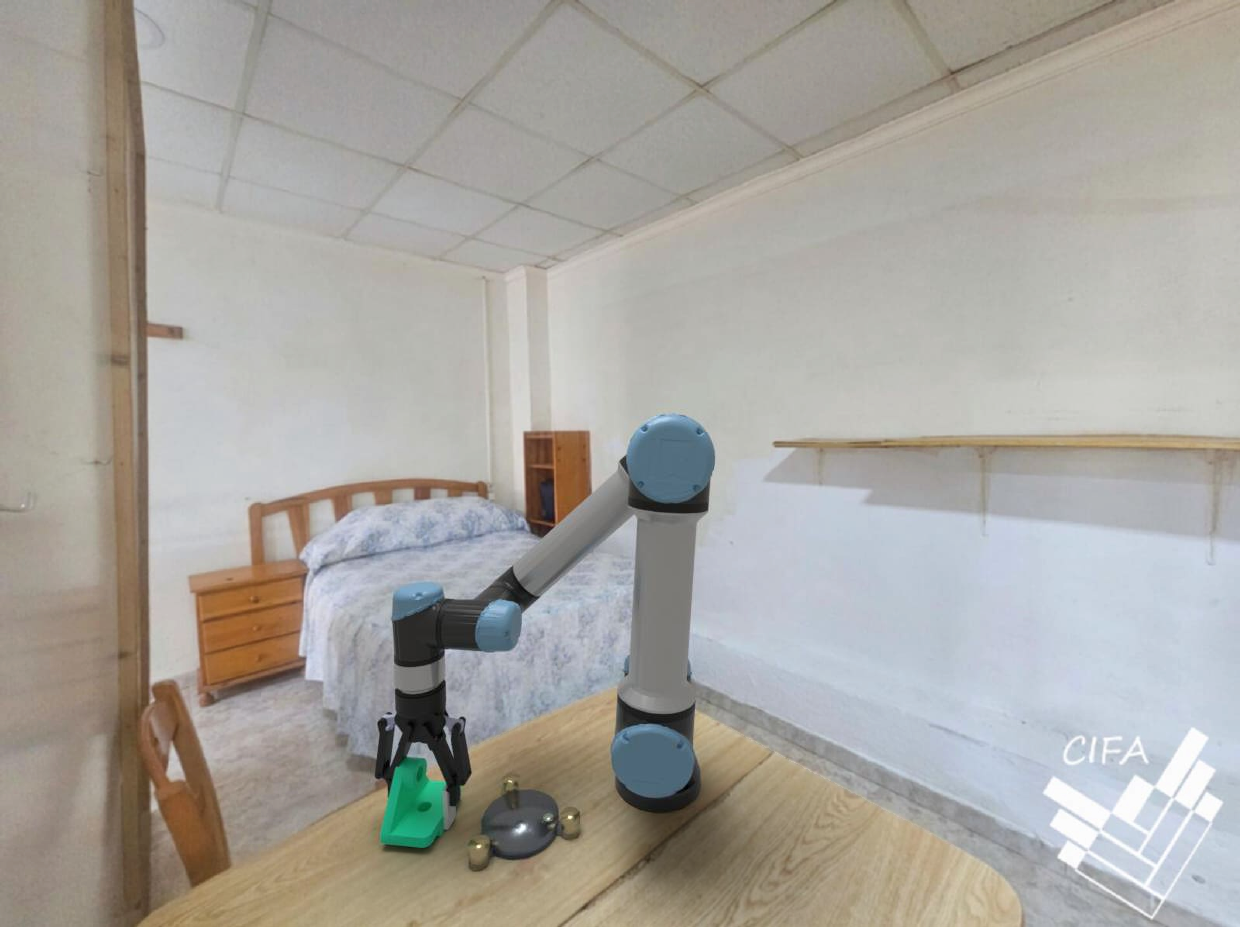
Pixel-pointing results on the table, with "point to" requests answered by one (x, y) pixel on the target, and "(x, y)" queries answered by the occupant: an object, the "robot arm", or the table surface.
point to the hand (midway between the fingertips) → (424, 820)
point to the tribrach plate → (520, 825)
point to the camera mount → (413, 806)
